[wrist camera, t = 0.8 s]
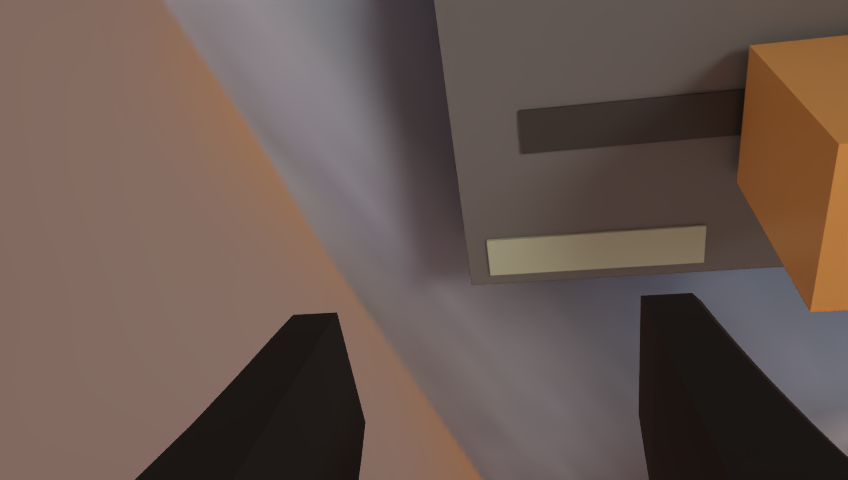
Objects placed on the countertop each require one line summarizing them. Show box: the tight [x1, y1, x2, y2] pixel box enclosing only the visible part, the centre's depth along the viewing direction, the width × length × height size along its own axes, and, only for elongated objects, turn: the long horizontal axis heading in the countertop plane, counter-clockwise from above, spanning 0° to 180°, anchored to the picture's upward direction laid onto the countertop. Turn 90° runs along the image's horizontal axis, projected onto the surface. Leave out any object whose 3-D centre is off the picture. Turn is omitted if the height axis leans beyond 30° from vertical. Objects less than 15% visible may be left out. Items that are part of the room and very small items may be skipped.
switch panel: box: [434, 0, 848, 285], centre depth 16 cm, size 16×8×2 cm, turn 98°
